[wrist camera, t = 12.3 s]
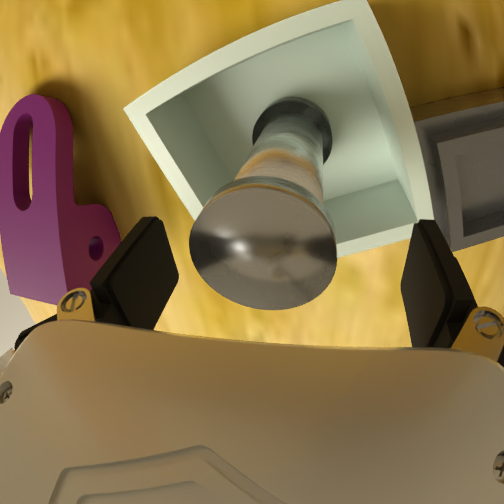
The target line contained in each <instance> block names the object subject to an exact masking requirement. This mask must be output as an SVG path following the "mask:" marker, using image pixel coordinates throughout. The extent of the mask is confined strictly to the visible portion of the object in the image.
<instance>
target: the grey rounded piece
mask: <svg viewBox="0 0 504 504" xmlns="http://www.w3.org/2000/svg"><path fill="white" fill-rule="evenodd" d="M252 142H253V148H252V149H251V151H250V153H249V154H248V156H247V158H246V160H245V161H244V163H243V165H242V167H241V168H240V170H239V172H238V173H237V175H236V177H235V179H234V181H232V182H230V183H228V184H226V185H224V186H223V187H221V188H220V189H218V190H217V191H216V192H215V193H214V194H213V195H212V196H211V197H210V198H209V200H208V201H207V203H206V204H205V206H204V208H203V209H202V211H201V212H200V214H199V216H198V217H197V219H196V221H195V222H194V224H193V227H192V229H191V233H190V238H189V248H190V254H191V258H192V261H193V263H194V266H195V268H196V269H197V271H198V273H199V274H200V276H201V277H202V278H203V279H204V281H205V282H206V283H207V284H208V285H209V286H210V287H211V288H213V289H214V290H215V291H216V292H218V293H219V294H221V295H222V296H224V297H226V298H227V299H229V300H231V301H233V302H236V303H238V304H241V305H244V306H247V307H251V308H256V309H262V310H283V309H289V308H294V307H297V306H300V305H303V304H305V303H307V302H310V301H311V300H313V299H314V298H316V297H317V296H319V295H320V294H321V293H322V292H323V291H324V290H325V289H326V288H327V287H328V285H329V284H330V282H331V280H332V278H333V276H334V274H335V270H336V265H337V242H336V230H335V226H334V222H333V220H332V218H331V216H330V214H329V212H328V210H327V209H326V207H325V206H324V183H323V165H324V163H325V162H326V161H327V159H328V158H329V155H330V153H331V150H332V144H333V141H332V132H331V125H330V122H329V119H328V117H327V115H326V114H325V112H324V111H323V110H322V109H321V108H320V107H319V106H318V105H317V104H315V103H314V102H312V101H310V100H308V99H305V98H301V97H284V98H281V99H278V100H276V101H274V102H273V103H271V104H270V105H269V106H268V107H267V108H266V109H265V110H264V111H263V113H262V114H261V115H260V117H259V118H258V119H257V121H256V123H255V125H254V128H253V133H252Z"/></svg>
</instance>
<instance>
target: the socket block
mask: <svg viewBox="0 0 504 504" xmlns="http://www.w3.org/2000/svg"><path fill="white" fill-rule="evenodd" d="M410 111H411V114H412V118H413V121H414V125H415V129H416V132H417V136H418V140H419V144H420V148H421V153H422V157H423V161H424V166H425V171H426V176H427V181H428V186H429V191H430V197H431V203H432V210H433V216H434V220H435V221H436V223H437V224H438V226H439V228H440V230H441V232H442V234H443V236H444V238H445V240H446V242H447V244H448V246H449V248H450V250H451V252H454V251H458V250H461V249H464V248H468V247H471V246H474V245H477V244H481V243H484V242H487V241H490V240H494V239H497V238H500V237H503V236H504V87H503V88H497V89H492V90H487V91H481V92H476V93H471V94H466V95H462V96H457V97H453V98H448V99H444V100H440V101H435V102H431V103H427V104H423V105H419V106H415V107H412V108H410Z"/></svg>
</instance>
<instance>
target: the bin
mask: <svg viewBox="0 0 504 504" xmlns="http://www.w3.org/2000/svg"><path fill="white" fill-rule="evenodd" d="M284 97H301V98H305V99H308V100H310V101H312V102H314V103H315V104H317V105H318V106H319V107H320V108H321V109H322V110H323V111H324V112H325V114H326V115H327V117H328V119H329V122H330V125H331V132H332V141H333V144H332V150H331V153H330V155H329V158H328V159H327V161H326V162H325V163H324V165H323V183H324V206H325V207H326V209H327V210H328V212H329V214H330V216H331V218H332V220H333V222H334V226H335V230H336V242H337V258H339V257H343V256H347V255H350V254H354V253H358V252H362V251H365V250H369V249H373V248H377V247H380V246H384V245H388V244H391V243H395V242H399V241H402V240H406V239H409V238H411V235H412V230H413V225H414V223H418V222H419V220H420V219H428V220H434V216H433V210H432V203H431V197H430V191H429V186H428V181H427V176H426V171H425V166H424V161H423V157H422V153H421V148H420V144H419V140H418V136H417V132H416V129H415V125H414V121H413V118H412V114H411V111H410V108H409V104H408V101H407V98H406V95H405V92H404V89H403V86H402V83H401V80H400V77H399V74H398V72H397V69H396V66H395V63H394V61H393V58H392V56H391V53H390V51H389V48H388V46H387V43H386V41H385V39H384V36H383V34H382V32H381V29H380V27H379V25H378V23H377V20H376V18H375V16H374V14H373V12H372V10H371V8H370V6H369V4H368V2H367V0H341V1H337V2H334V3H331V4H327V5H324V6H321V7H318V8H315V9H312V10H309V11H306V12H303V13H301V14H298V15H295V16H292V17H290V18H287V19H285V20H282V21H279V22H277V23H275V24H272V25H270V26H267V27H265V28H263V29H260V30H258V31H256V32H254V33H251V34H249V35H247V36H245V37H243V38H241V39H238V40H236V41H234V42H232V43H230V44H228V45H226V46H224V47H222V48H220V49H218V50H216V51H214V52H213V53H211V54H209V55H207V56H205V57H203V58H201V59H200V60H198V61H196V62H194V63H193V64H191V65H189V66H187V67H186V68H184V69H182V70H181V71H179V72H177V73H176V74H174V75H172V76H171V77H169V78H167V79H166V80H164V81H163V82H161V83H160V84H158V85H156V86H155V87H153V88H152V89H150V90H149V91H147V92H146V93H144V94H143V95H141V96H140V97H139V98H137V99H136V100H134V101H133V102H131V103H130V104H129V105H127V106H126V107H125V108H123V109H124V111H125V112H126V114H127V116H128V117H129V119H130V120H131V122H132V124H133V125H134V127H135V129H136V130H137V132H138V133H139V135H140V137H141V138H142V140H143V141H144V143H145V144H146V146H147V148H148V149H149V151H150V152H151V154H152V156H153V157H154V159H155V160H156V162H157V163H158V165H159V167H160V168H161V170H162V171H163V173H164V174H165V176H166V178H167V179H168V181H169V182H170V184H171V185H172V187H173V188H174V190H175V191H176V193H177V195H178V196H179V198H180V199H181V201H182V202H183V204H184V205H185V207H186V208H187V210H188V211H189V213H190V214H191V216H192V217H193V219H194V220H195V221H196V219H197V217H198V216H199V214H200V212H201V211H202V209H203V208H204V206H205V204H206V203H207V201H208V200H209V198H210V197H211V196H212V195H213V194H214V193H215V192H216V191H217V190H218V189H220V188H221V187H223V186H224V185H226V184H228V183H230V182H232V181H234V179H235V177H236V175H237V173H238V172H239V170H240V168H241V167H242V165H243V163H244V161H245V160H246V158H247V156H248V154H249V153H250V151H251V149H252V148H253V142H252V133H253V128H254V125H255V123H256V121H257V119H258V118H259V117H260V115H261V114H262V113H263V111H264V110H265V109H266V108H267V107H268V106H269V105H270V104H271V103H273V102H274V101H276V100H278V99H281V98H284Z"/></svg>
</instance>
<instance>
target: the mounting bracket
mask: <svg viewBox="0 0 504 504" xmlns="http://www.w3.org/2000/svg"><path fill="white" fill-rule="evenodd" d="M32 124H33V139H32V188H33V195H32V201H31V199H30V194H29V134H30V129H31V126H32ZM0 235H1V243H2V250H3V257H4V263H5V269H6V275H7V280H8V285H9V289H10V294H13V295H17V296H21V297H25V298H28V299H33V300H37V301H41V302H45V303H49V304H54V305H58V303H59V301H60V299H61V298H62V297H63V296H64V295H65V294H66V293H68V292H69V291H71V290H73V289H76V288H86V289H87V290H89V292H90V291H91V289H92V287H91V285H90V283H89V282H90V281H91V280H92V278H93V277H94V276H95V274H96V273H97V272H98V271H99V269H100V268H101V267H102V265H103V264H104V263H105V262H106V260H107V259H108V258H109V257H110V255H111V254H112V253H113V252H114V250H115V249H116V248H117V247H118V245H119V244H120V235H119V232H118V229H117V227H116V224H115V221H114V219H113V216H112V213H111V212H110V211H109V210H108V209H107V208H106V207H105V206H103V205H100V204H85V205H76V203H75V201H74V189H73V127H72V121H71V117H70V114H69V112H68V110H67V108H66V107H65V105H64V104H63V103H62V102H61V101H60V100H58V99H56V98H52V97H47V96H42V95H36V94H32V95H28V96H26V97H24V98H22V99H21V100H19V101H18V102H17V103H16V104H15V105H14V107H13V108H12V109H11V111H10V112H9V114H8V115H7V117H6V119H5V121H4V124H3V126H2V129H1V132H0Z"/></svg>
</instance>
